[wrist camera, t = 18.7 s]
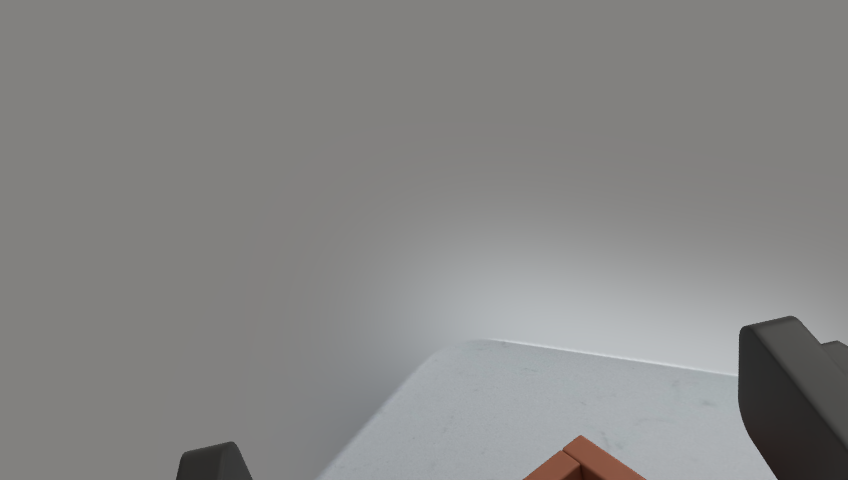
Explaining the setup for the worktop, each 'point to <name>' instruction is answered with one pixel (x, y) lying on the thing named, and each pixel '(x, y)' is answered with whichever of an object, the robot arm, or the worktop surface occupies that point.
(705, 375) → the worktop surface
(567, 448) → the bin
